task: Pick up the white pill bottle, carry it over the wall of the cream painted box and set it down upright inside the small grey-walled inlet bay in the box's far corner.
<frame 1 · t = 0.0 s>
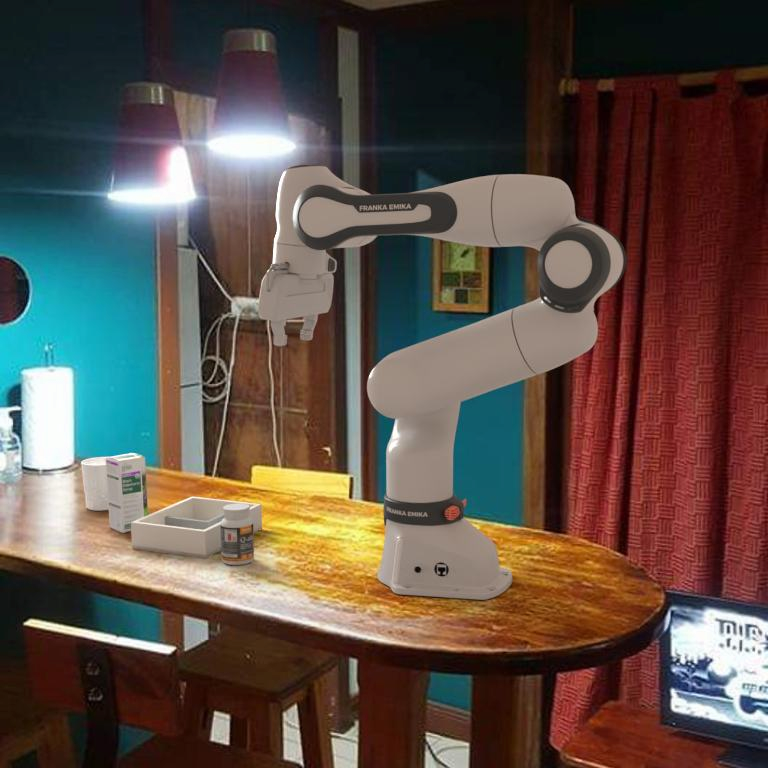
hand: (293, 342, 177), 39 cm above the table, tool pointing down, fingers open, 8 cm apart
white cup: (102, 507, 220), on the table
syrup box: (128, 528, 205), on the table
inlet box: (199, 538, 197), on the table
pill bottle: (237, 562, 183), on the table
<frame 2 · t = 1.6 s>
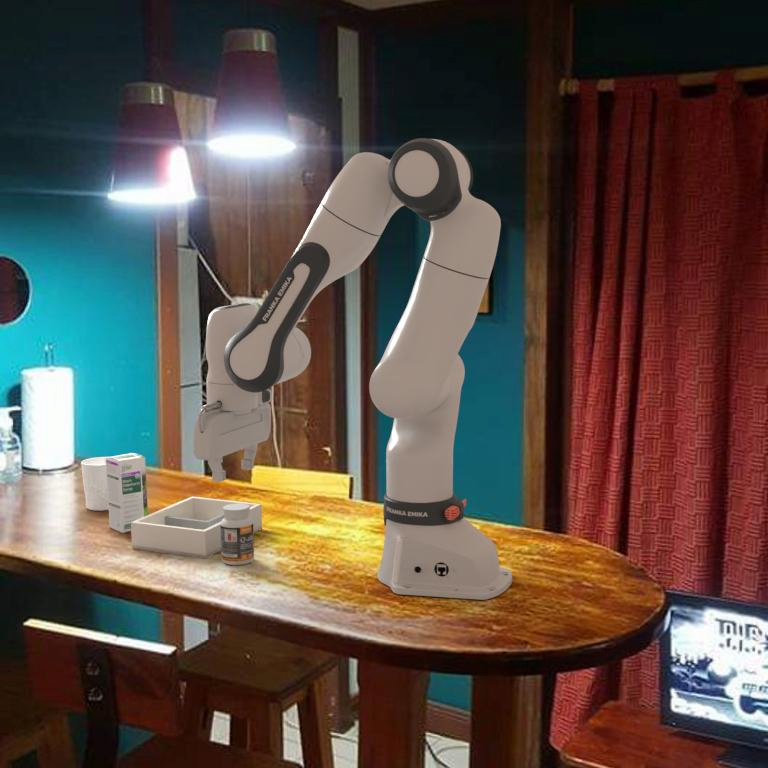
hand: (233, 475, 181), 16 cm above the table, tool pointing down, fingers open, 8 cm apart
nothing on the table moved.
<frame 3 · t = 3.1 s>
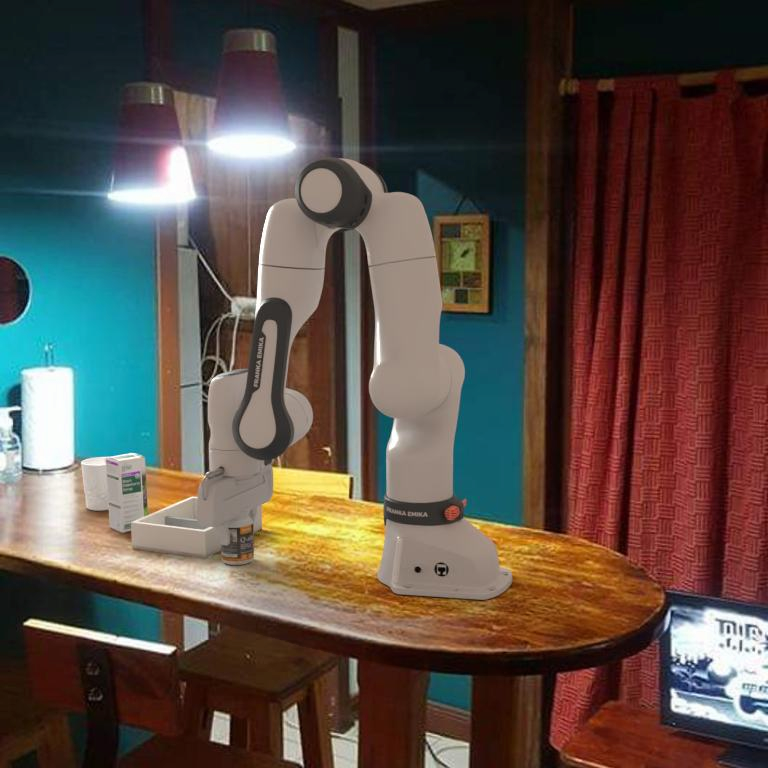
hand: (237, 538, 183), 4 cm above the table, tool pointing down, fingers closed on pill bottle, 6 cm apart
pill bottle: (237, 562, 183), on the table, touching gripper
everything else where it was.
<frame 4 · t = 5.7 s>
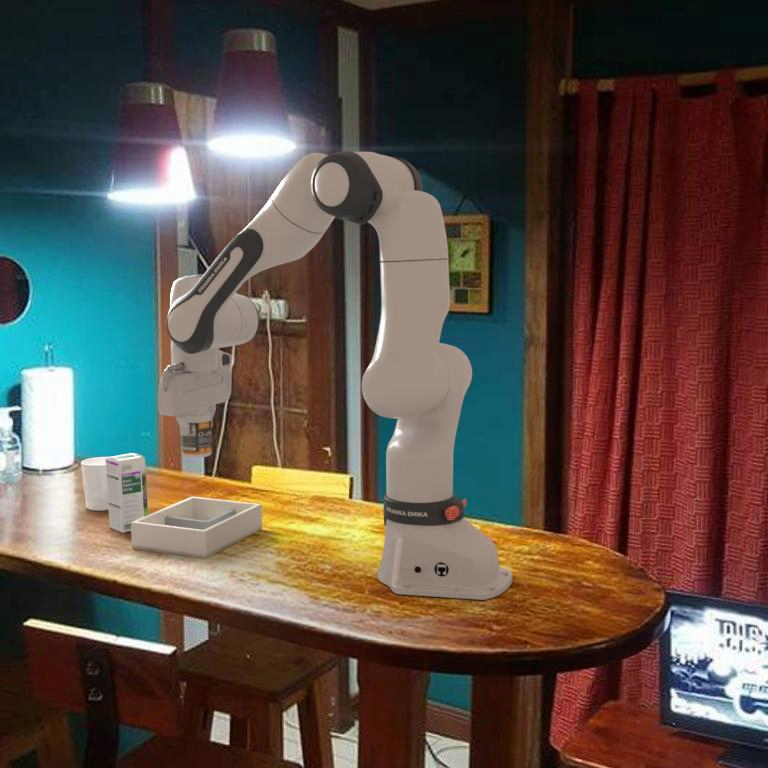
hand: (196, 431, 199), 20 cm above the table, tool pointing down, fingers closed on pill bottle, 6 cm apart
pill bottle: (196, 456, 200), point 15 cm above the table, touching gripper
everything else where it was.
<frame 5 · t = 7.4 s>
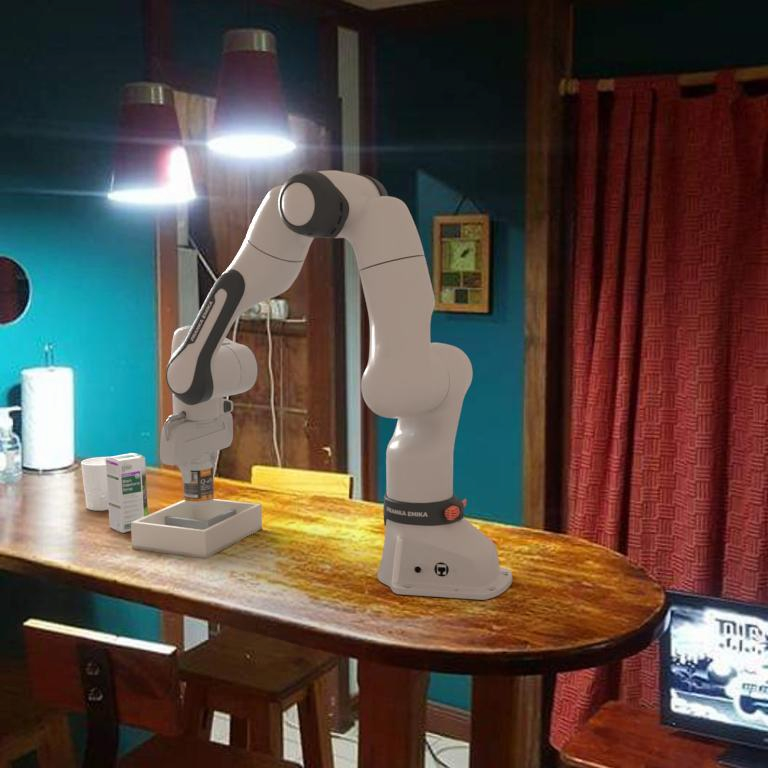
hand: (198, 478, 201), 10 cm above the table, tool pointing down, fingers closed on pill bottle, 6 cm apart
pill bottle: (199, 502, 202), point 6 cm above the table, touching gripper
everything else where it was.
when the fingers open (6 cm above the table, at t = 8.7 s): pill bottle drops 1 cm, resting on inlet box.
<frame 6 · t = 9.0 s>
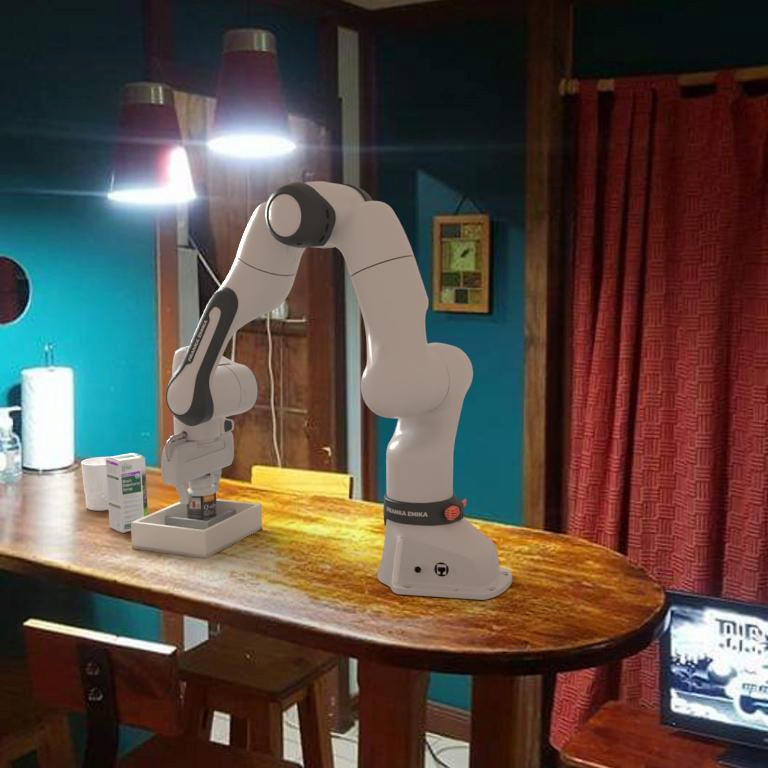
hand: (199, 497, 201), 7 cm above the table, tool pointing down, fingers open, 8 cm apart
pill bottle: (202, 527, 203), resting on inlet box
everything else where it was.
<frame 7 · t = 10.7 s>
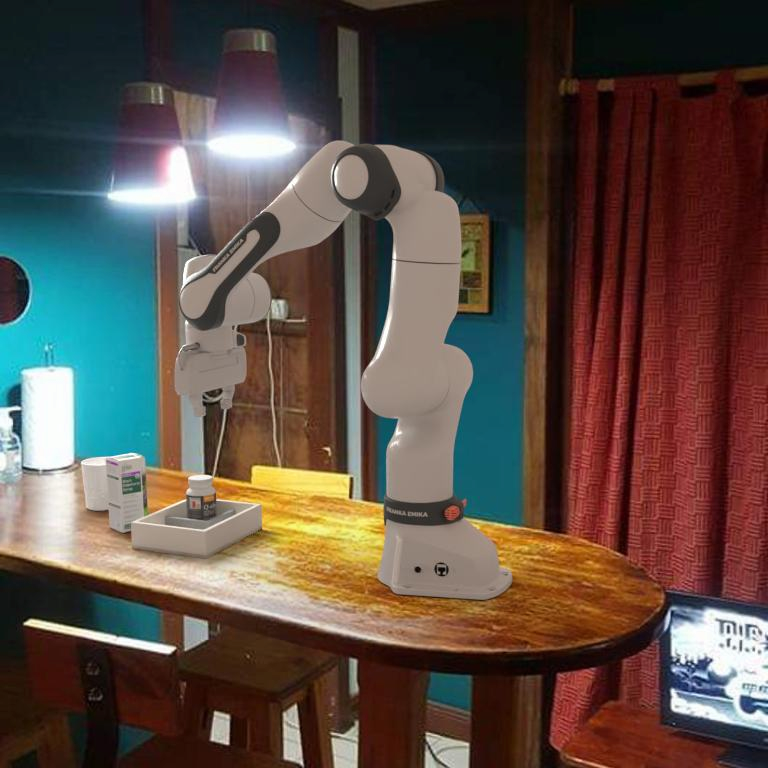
hand: (213, 412, 199), 23 cm above the table, tool pointing down, fingers open, 8 cm apart
nothing on the table moved.
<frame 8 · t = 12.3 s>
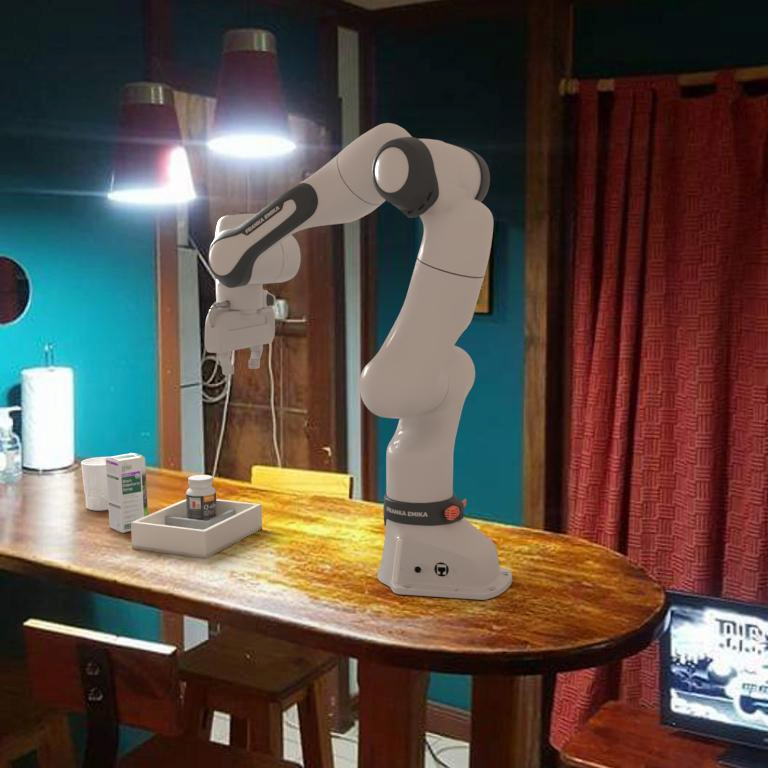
hand: (241, 371, 199), 31 cm above the table, tool pointing down, fingers open, 8 cm apart
nothing on the table moved.
at the end: pill bottle 0.4 cm from the target spot on the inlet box, point 0.4 cm above the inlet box's base; pill bottle tilted 0°; the gripper is holding nothing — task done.
